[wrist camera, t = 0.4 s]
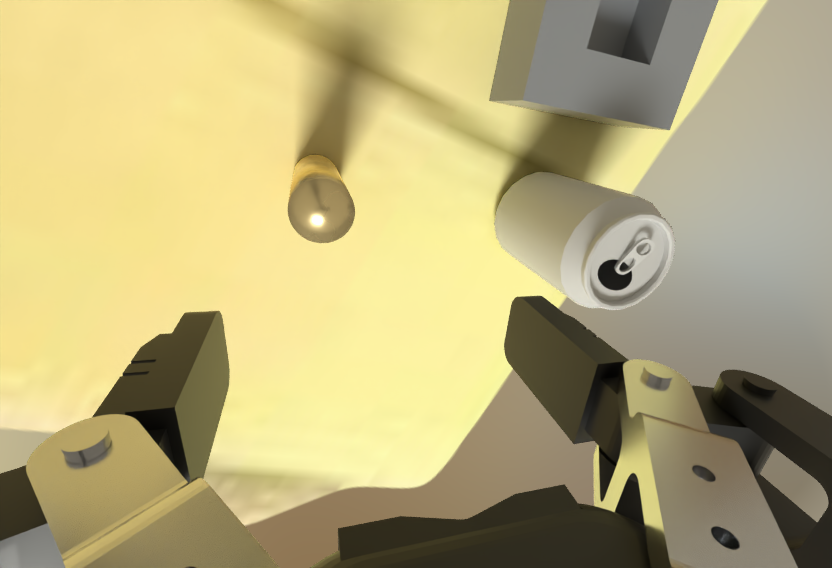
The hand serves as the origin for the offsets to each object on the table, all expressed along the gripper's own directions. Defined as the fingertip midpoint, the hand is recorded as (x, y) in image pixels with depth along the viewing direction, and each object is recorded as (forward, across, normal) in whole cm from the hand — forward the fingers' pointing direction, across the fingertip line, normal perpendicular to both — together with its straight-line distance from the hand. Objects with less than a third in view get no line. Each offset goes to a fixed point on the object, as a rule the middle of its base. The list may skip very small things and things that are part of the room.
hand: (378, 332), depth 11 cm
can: (+20, -17, +1) cm, 26 cm away
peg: (+20, +1, -1) cm, 20 cm away
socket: (+20, -18, -13) cm, 30 cm away
